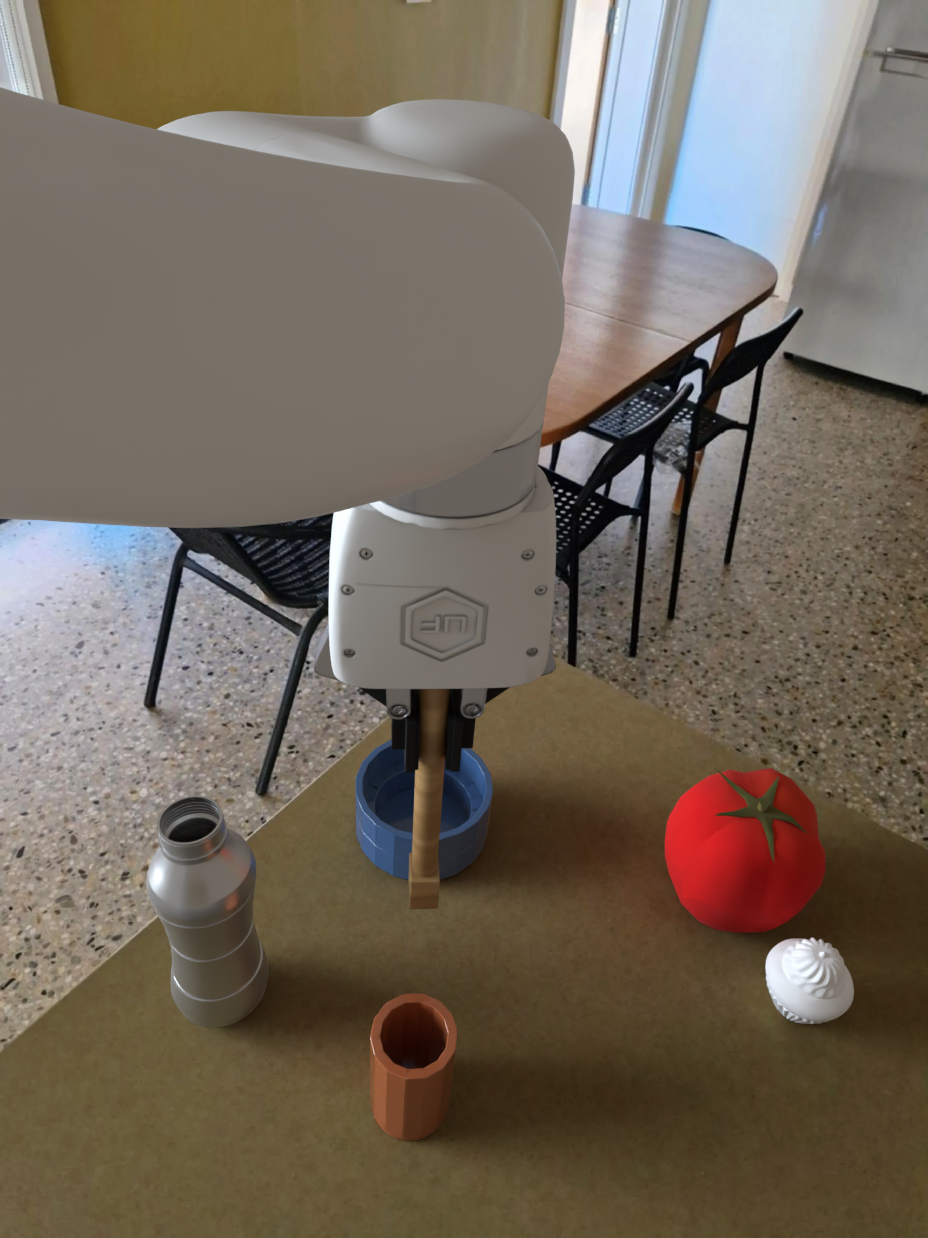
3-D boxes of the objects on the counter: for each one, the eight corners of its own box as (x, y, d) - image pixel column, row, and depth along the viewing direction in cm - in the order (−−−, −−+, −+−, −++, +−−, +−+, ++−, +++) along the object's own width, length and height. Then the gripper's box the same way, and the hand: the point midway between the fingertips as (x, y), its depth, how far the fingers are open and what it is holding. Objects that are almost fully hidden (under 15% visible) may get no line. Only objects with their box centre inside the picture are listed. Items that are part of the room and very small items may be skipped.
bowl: (493, 883, 73) (500, 837, 69) (356, 888, 71) (355, 842, 68) (479, 777, 81) (484, 732, 78) (356, 781, 80) (355, 735, 76)
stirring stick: (437, 909, 56) (454, 693, 44) (409, 910, 56) (417, 693, 44) (435, 879, 58) (451, 662, 46) (408, 880, 57) (416, 663, 45)
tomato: (621, 897, 73) (649, 806, 65) (698, 802, 81) (731, 712, 74) (759, 992, 67) (807, 904, 60) (827, 879, 75) (876, 790, 68)
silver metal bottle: (166, 975, 65) (117, 798, 52) (256, 939, 67) (231, 762, 55) (188, 1056, 60) (141, 884, 48) (284, 1014, 63) (263, 841, 51)
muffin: (742, 1015, 65) (769, 964, 61) (764, 950, 70) (791, 899, 65) (827, 1060, 63) (861, 1011, 59) (844, 991, 67) (878, 940, 63)
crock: (452, 1138, 58) (461, 1076, 52) (370, 1144, 57) (370, 1082, 51) (446, 1057, 62) (454, 991, 56) (369, 1062, 61) (369, 995, 55)
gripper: (242, 496, 33) (278, 811, 45) (655, 501, 34) (585, 804, 46) (262, 404, 39) (289, 705, 50) (615, 412, 40) (561, 702, 52)
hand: (430, 751), depth 48 cm, fingers closed on stirring stick, 1 cm apart
